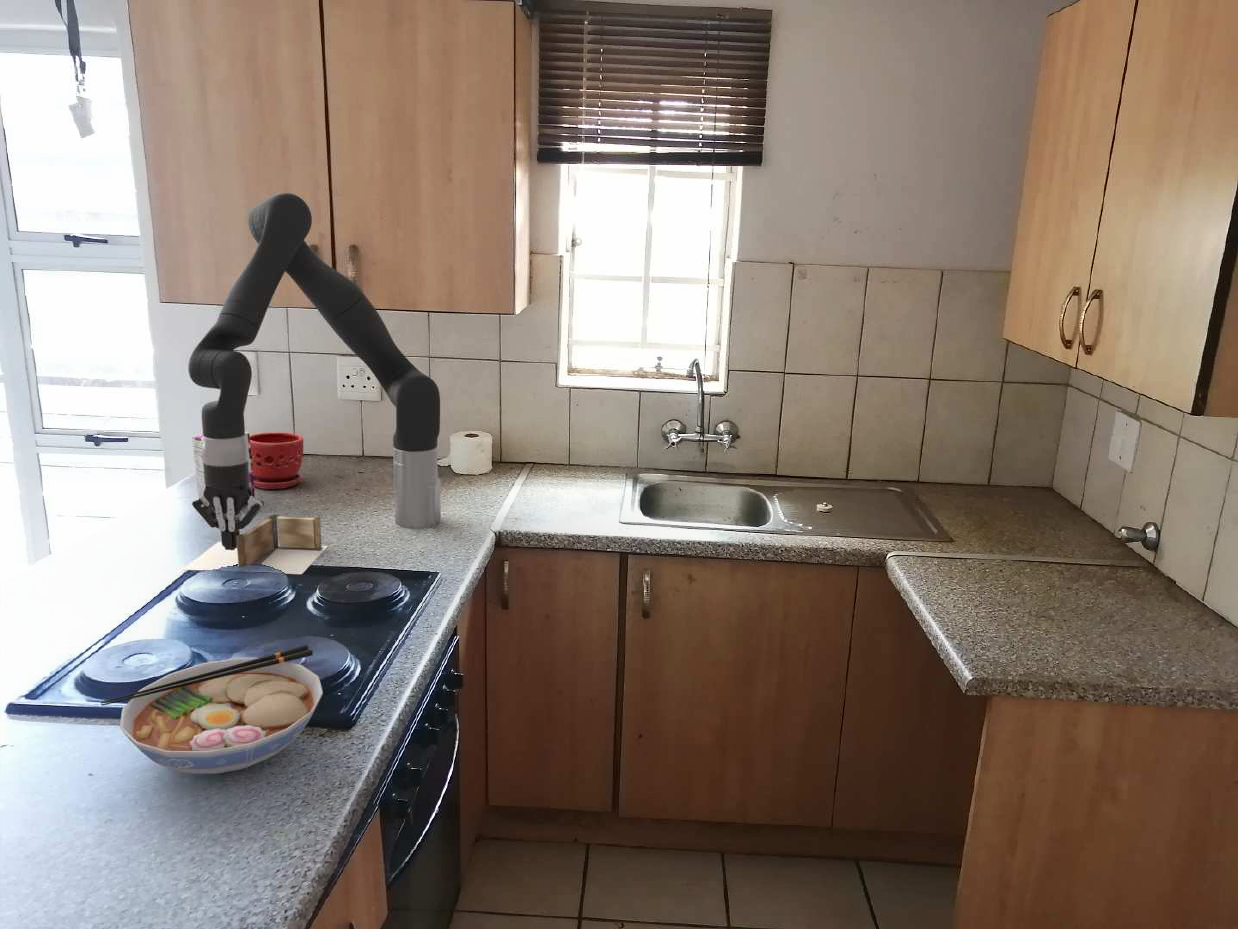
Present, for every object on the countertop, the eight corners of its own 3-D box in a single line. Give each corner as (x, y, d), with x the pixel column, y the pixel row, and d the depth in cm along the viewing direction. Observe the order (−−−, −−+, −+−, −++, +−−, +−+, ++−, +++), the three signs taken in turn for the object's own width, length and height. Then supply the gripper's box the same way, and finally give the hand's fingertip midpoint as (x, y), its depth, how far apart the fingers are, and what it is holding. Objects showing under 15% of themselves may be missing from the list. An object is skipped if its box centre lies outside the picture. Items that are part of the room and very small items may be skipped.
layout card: (328, 547, 182) (327, 545, 182) (301, 576, 168) (301, 573, 168) (218, 543, 182) (218, 541, 182) (182, 571, 168) (182, 569, 168)
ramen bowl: (132, 841, 97) (125, 773, 95) (101, 740, 115) (94, 681, 112) (361, 767, 111) (358, 706, 109) (302, 688, 129) (299, 635, 127)
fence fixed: (322, 548, 181) (321, 515, 179) (320, 550, 180) (318, 518, 178) (271, 546, 181) (269, 513, 179) (268, 548, 180) (266, 516, 178)
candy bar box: (243, 496, 212) (238, 428, 208) (255, 501, 210) (250, 431, 205) (197, 507, 204) (191, 436, 200) (209, 512, 201) (203, 440, 197)
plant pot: (287, 494, 216) (284, 445, 213) (237, 489, 218) (233, 440, 215) (315, 479, 228) (313, 433, 225) (267, 475, 230) (264, 428, 227)
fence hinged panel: (268, 547, 179) (266, 517, 178) (274, 548, 179) (272, 517, 177) (237, 569, 168) (234, 536, 167) (243, 569, 168) (241, 536, 166)
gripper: (269, 455, 169) (274, 543, 174) (198, 452, 169) (205, 540, 174) (253, 466, 162) (258, 557, 166) (179, 462, 162) (186, 553, 166)
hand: (231, 548), depth 170 cm, fingers closed
